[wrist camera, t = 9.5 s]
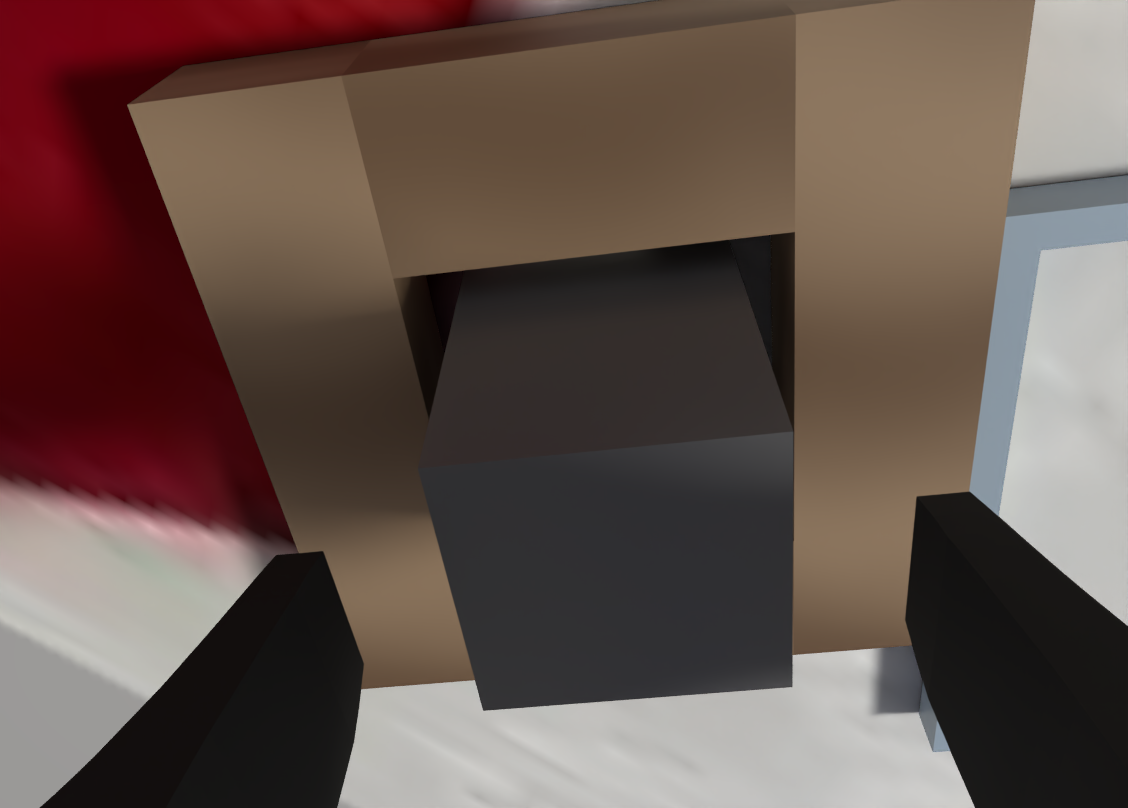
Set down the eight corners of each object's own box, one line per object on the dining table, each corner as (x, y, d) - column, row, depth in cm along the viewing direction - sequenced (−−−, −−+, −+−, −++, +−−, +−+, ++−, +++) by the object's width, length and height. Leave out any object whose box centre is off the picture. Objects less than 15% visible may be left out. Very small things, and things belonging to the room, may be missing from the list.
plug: (728, 421, 17) (792, 687, 12) (510, 443, 17) (482, 710, 12) (720, 213, 15) (793, 430, 10) (470, 243, 15) (418, 468, 10)
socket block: (915, 566, 19) (948, 642, 17) (370, 613, 20) (351, 689, 18) (976, -43, 13) (1037, -19, 11) (183, 66, 14) (127, 105, 12)
